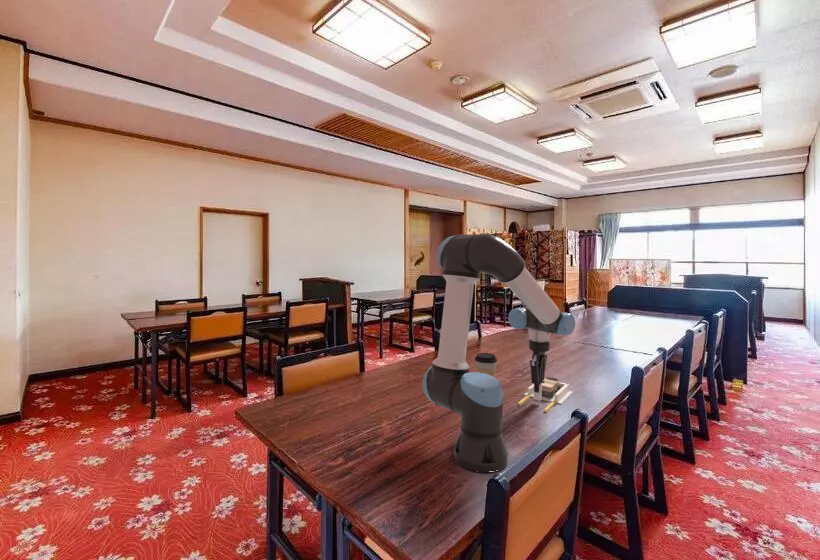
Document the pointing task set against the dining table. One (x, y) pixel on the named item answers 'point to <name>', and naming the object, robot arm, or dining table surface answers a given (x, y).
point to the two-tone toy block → (550, 386)
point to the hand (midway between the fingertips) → (537, 399)
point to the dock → (558, 397)
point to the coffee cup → (486, 363)
